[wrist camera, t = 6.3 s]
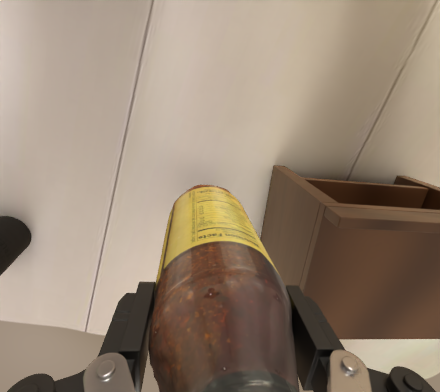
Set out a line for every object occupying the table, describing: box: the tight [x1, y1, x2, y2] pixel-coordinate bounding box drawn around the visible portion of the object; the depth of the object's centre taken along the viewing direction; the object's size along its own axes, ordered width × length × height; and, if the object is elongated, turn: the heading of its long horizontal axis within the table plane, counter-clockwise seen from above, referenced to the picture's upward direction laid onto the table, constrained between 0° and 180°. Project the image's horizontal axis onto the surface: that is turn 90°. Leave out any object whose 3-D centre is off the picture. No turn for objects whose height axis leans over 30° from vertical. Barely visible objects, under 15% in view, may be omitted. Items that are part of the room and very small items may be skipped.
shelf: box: [260, 166, 440, 339], centre depth 27 cm, size 18×13×15 cm
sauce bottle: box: [148, 185, 299, 392], centre depth 13 cm, size 6×6×20 cm
